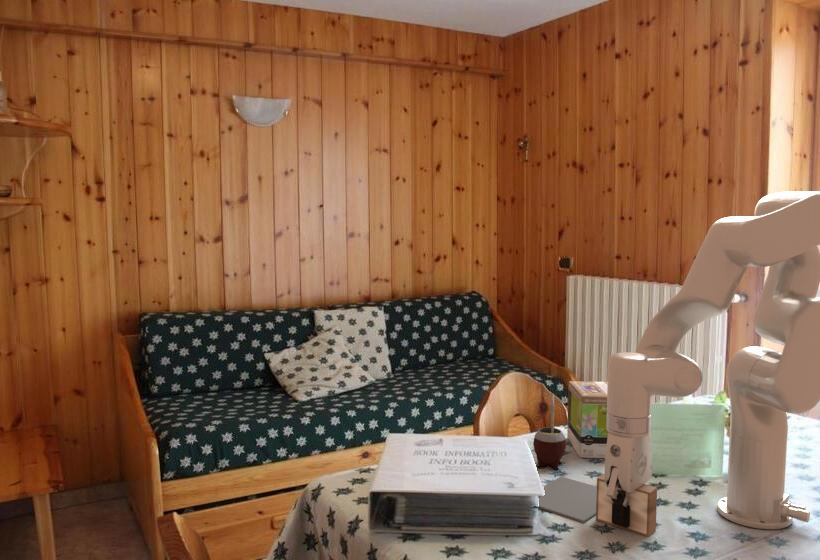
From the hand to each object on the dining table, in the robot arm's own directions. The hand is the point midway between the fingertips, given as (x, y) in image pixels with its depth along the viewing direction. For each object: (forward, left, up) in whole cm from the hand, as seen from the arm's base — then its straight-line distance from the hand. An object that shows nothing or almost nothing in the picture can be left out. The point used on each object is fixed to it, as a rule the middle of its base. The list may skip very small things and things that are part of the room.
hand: (625, 520), depth 127 cm
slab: (0, 0, -1) cm, 1 cm away
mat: (+13, -4, -1) cm, 14 cm away
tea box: (+24, -34, -1) cm, 42 cm away
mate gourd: (+26, -17, -1) cm, 31 cm away
